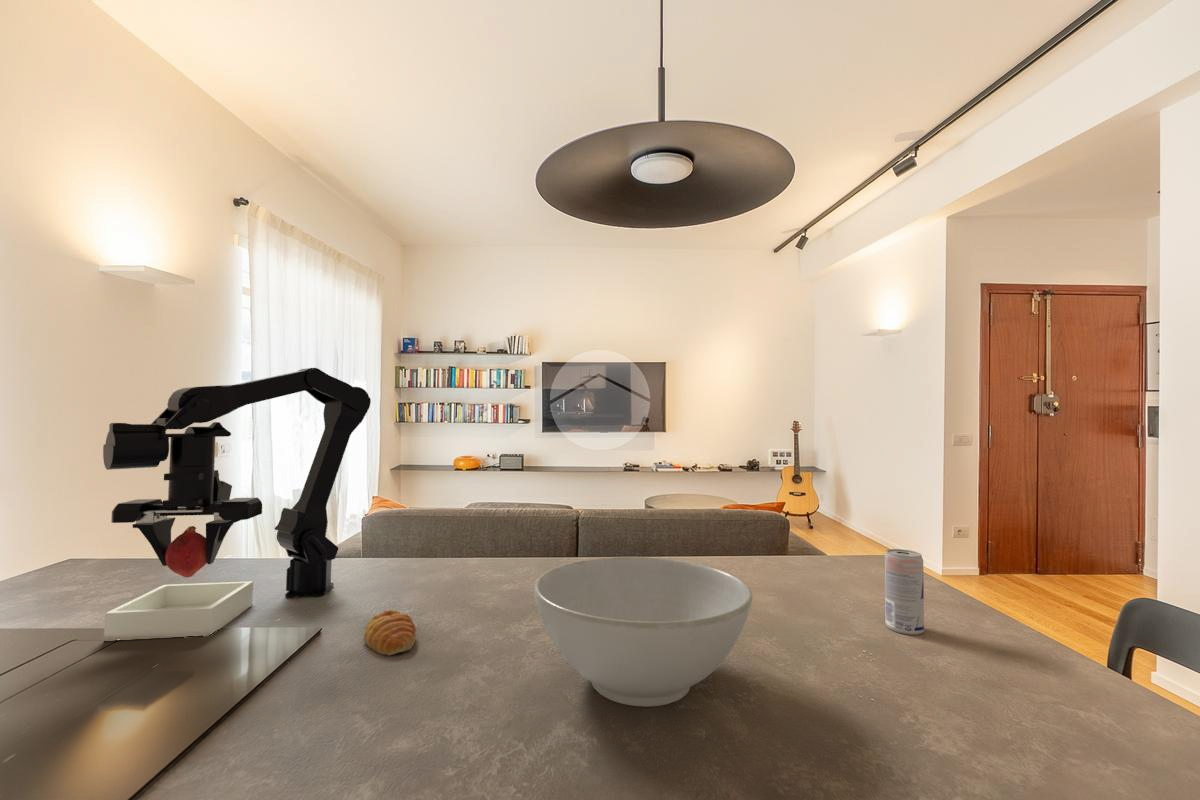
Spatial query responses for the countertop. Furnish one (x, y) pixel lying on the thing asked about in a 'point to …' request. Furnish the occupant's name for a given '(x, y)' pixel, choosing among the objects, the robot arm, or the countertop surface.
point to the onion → (187, 553)
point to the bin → (180, 610)
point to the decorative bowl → (642, 623)
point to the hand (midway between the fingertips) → (188, 564)
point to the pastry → (390, 632)
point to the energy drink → (904, 591)
